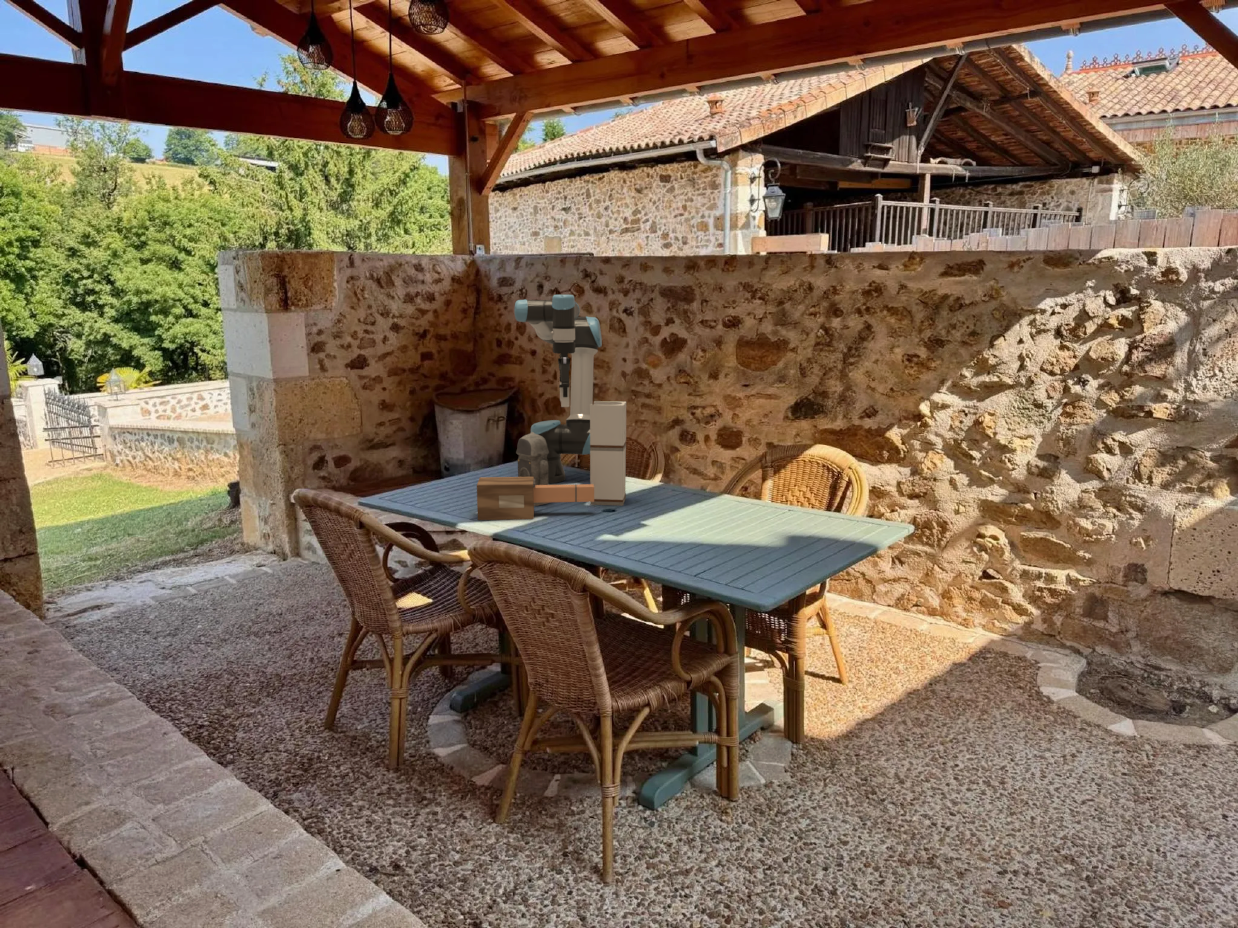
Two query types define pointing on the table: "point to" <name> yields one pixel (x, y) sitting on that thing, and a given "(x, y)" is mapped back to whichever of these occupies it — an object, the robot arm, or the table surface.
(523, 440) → the grey backpack
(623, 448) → the beige square tower
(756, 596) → the table surface
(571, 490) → the orange banded bar
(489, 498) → the box
